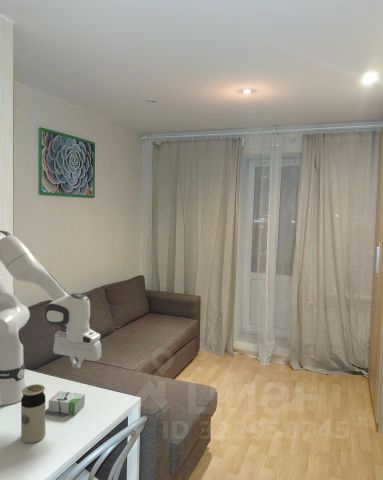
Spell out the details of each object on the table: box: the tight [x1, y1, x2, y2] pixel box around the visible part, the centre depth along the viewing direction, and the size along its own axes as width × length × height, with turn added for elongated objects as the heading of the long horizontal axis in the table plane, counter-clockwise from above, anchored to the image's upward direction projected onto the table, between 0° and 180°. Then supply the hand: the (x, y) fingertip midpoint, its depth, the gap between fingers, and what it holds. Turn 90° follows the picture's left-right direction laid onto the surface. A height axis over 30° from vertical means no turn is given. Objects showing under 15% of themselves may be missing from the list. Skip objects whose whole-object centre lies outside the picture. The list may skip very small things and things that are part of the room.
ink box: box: [47, 390, 86, 415], centre depth 155 cm, size 9×5×12 cm
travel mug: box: [20, 384, 46, 444], centre depth 135 cm, size 8×8×18 cm
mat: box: [45, 408, 69, 418], centre depth 156 cm, size 10×13×1 cm
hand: (76, 367), depth 153 cm, fingers closed
